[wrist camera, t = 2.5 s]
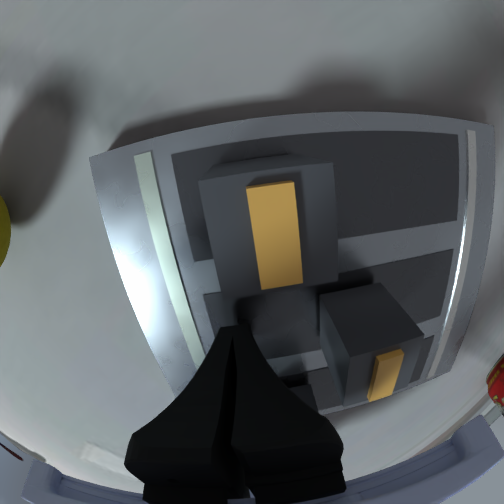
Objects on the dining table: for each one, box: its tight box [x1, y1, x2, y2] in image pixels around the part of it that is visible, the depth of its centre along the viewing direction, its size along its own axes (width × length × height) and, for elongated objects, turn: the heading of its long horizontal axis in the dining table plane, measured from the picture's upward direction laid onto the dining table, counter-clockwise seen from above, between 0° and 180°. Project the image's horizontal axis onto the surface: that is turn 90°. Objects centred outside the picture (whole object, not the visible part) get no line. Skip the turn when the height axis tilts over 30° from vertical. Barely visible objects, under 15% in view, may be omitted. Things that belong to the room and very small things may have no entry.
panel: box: [89, 112, 495, 415], centre depth 13 cm, size 18×20×2 cm
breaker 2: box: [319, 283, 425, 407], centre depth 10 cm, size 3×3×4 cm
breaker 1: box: [198, 154, 338, 300], centre depth 8 cm, size 3×3×4 cm
